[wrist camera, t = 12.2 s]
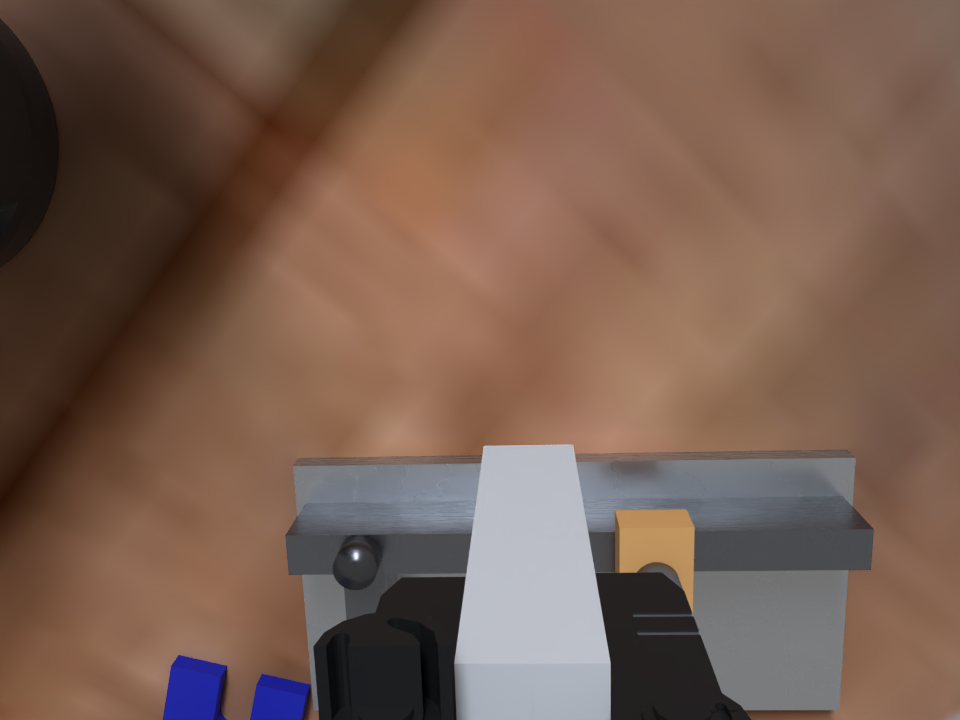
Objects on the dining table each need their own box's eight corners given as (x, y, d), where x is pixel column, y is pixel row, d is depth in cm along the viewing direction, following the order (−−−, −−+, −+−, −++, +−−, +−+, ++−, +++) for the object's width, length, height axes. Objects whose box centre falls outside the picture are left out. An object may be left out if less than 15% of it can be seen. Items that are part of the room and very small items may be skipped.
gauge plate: (318, 696, 49) (286, 781, 43) (298, 458, 46) (261, 509, 40) (831, 696, 48) (880, 783, 41) (846, 449, 45) (903, 501, 38)
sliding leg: (607, 672, 46) (622, 766, 39) (607, 479, 44) (623, 542, 37) (668, 672, 46) (695, 766, 39) (672, 478, 44) (700, 541, 37)
